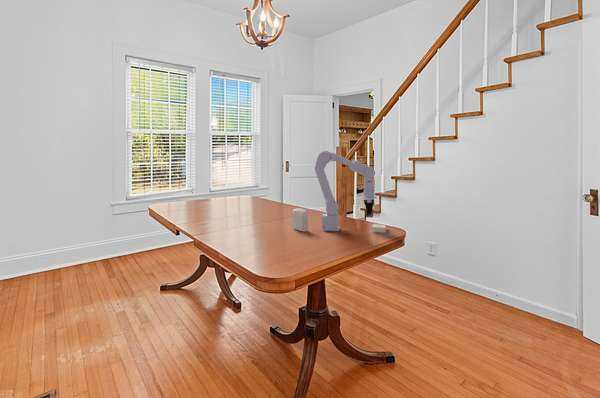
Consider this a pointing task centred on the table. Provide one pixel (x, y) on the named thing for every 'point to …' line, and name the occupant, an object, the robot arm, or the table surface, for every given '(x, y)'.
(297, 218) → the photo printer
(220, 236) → the table surface
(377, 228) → the cream block
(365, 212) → the walnut cube
